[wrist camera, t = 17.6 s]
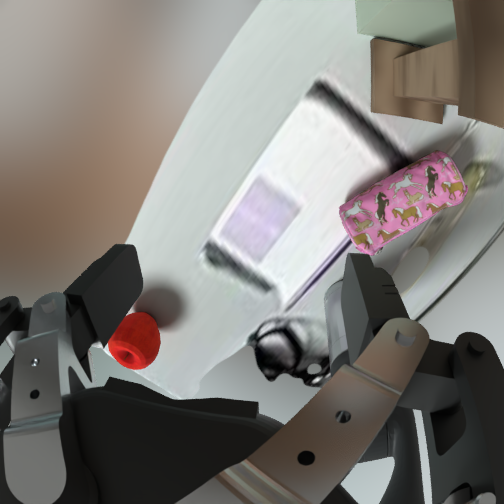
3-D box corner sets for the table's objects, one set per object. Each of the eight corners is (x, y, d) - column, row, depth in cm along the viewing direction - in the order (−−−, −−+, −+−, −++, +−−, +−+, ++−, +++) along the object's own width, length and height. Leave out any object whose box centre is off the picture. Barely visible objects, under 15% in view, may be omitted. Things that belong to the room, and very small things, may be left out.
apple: (171, 343, 69) (153, 385, 57) (128, 331, 69) (106, 369, 58) (169, 306, 63) (146, 349, 51) (122, 295, 64) (94, 333, 52)
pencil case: (357, 245, 51) (367, 271, 43) (331, 203, 48) (338, 224, 40) (453, 185, 43) (478, 203, 35) (434, 139, 40) (459, 149, 32)
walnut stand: (447, 58, 32) (594, 50, 5) (446, 125, 38) (594, 181, 10) (357, 39, 34) (458, -43, 6) (358, 110, 40) (473, 134, 12)
